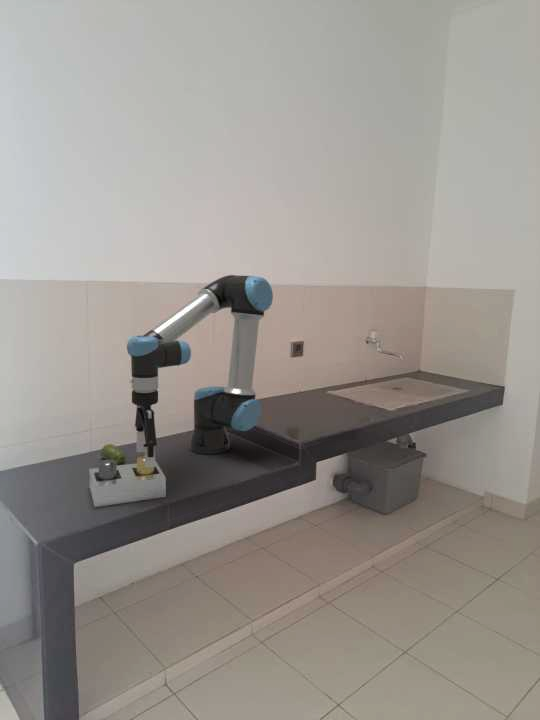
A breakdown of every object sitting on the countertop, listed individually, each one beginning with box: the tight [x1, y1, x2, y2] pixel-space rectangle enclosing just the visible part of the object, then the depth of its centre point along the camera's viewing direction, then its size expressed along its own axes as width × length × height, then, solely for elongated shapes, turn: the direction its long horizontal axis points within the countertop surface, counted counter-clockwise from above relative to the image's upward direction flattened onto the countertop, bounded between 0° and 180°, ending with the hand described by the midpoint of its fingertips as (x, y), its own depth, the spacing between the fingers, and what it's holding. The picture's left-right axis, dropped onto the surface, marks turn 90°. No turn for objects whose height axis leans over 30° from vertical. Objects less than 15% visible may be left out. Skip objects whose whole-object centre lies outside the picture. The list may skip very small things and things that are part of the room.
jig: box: [88, 459, 167, 508], centre depth 156 cm, size 20×14×10 cm
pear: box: [100, 443, 126, 465], centre depth 181 cm, size 6×5×10 cm
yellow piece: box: [136, 454, 154, 476], centre depth 158 cm, size 5×5×10 cm
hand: (145, 459), depth 157 cm, fingers open, 13 cm apart
